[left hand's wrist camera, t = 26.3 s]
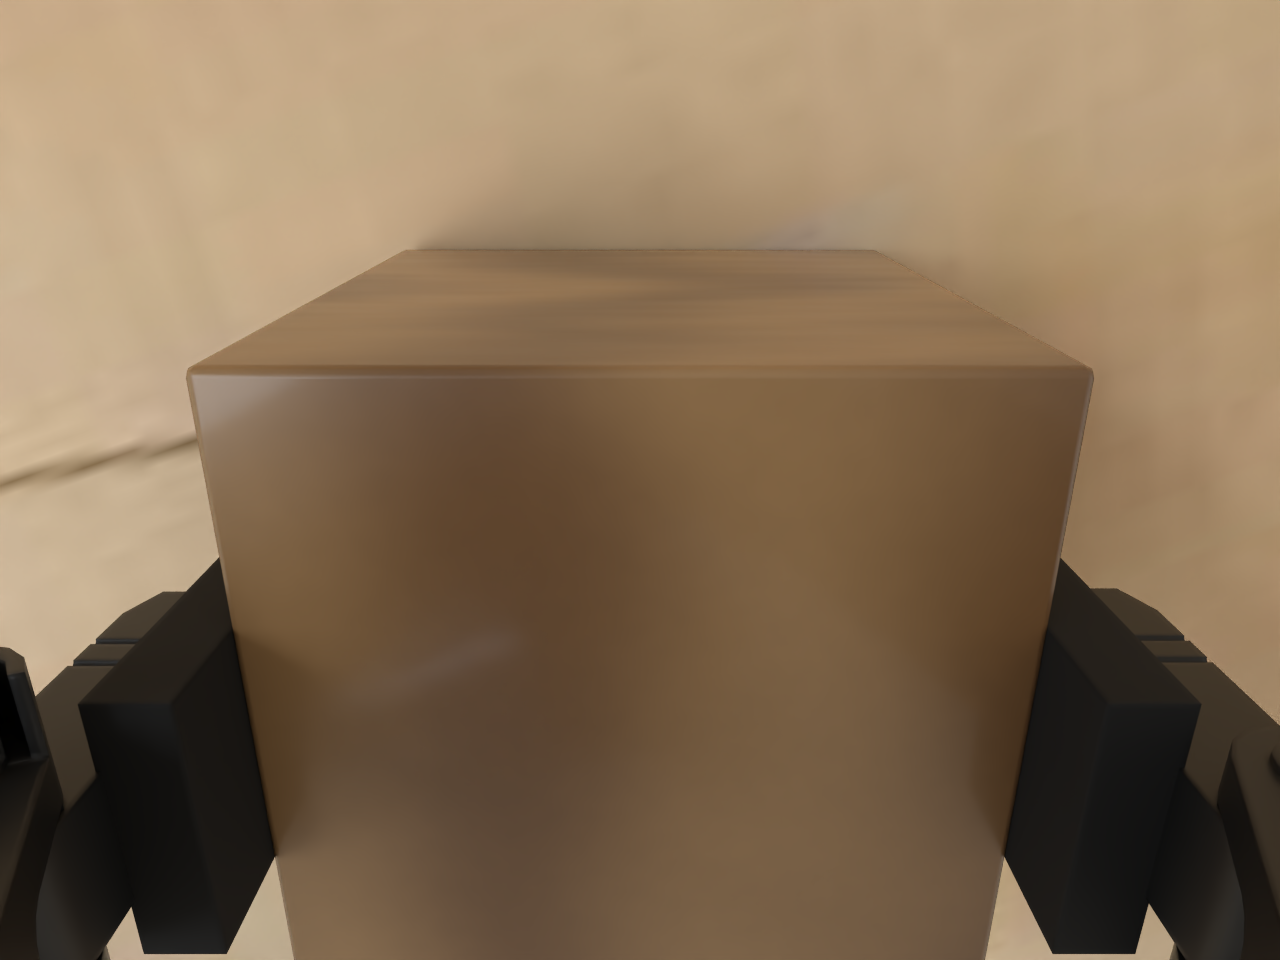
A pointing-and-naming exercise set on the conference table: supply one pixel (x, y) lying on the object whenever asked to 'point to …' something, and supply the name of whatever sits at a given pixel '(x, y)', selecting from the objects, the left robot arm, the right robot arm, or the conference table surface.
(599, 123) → the conference table surface
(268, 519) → the block
